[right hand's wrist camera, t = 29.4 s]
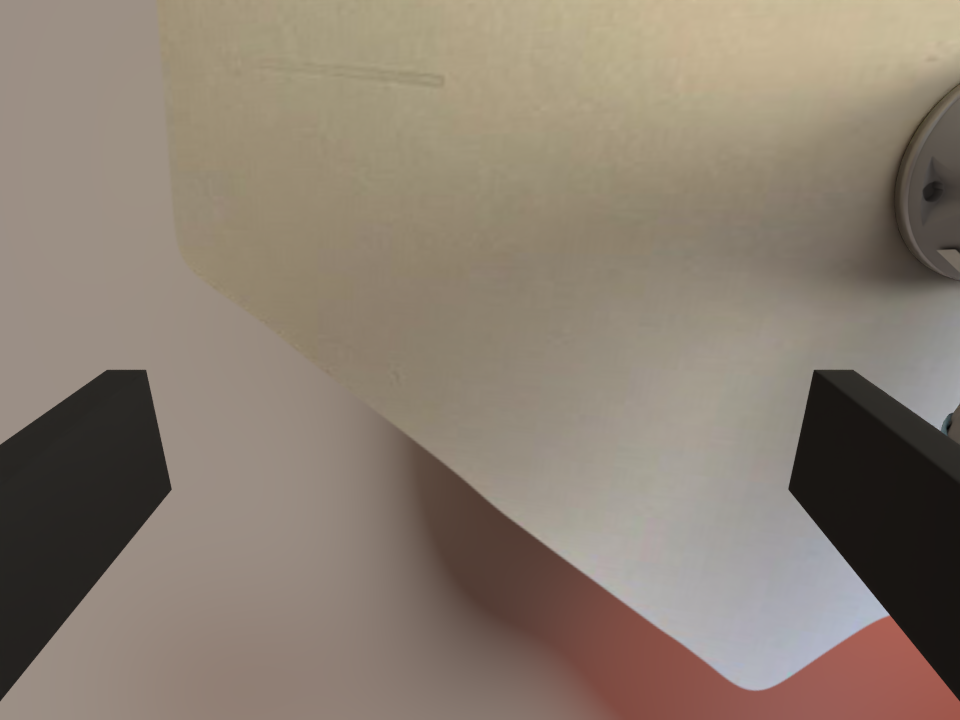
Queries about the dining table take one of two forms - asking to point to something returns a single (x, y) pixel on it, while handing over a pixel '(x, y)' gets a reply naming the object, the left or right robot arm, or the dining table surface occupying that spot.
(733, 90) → the dining table surface
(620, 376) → the dining table surface
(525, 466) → the dining table surface
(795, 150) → the dining table surface
